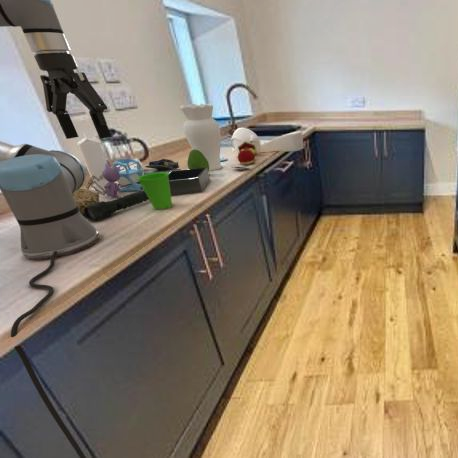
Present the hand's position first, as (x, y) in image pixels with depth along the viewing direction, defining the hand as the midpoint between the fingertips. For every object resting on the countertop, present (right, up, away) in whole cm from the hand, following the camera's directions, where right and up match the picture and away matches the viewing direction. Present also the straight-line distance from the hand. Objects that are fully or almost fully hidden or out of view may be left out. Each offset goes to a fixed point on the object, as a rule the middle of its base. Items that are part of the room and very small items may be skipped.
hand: (89, 138), depth 98 cm
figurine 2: (+8, +16, +84) cm, 86 cm away
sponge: (-20, -19, +21) cm, 35 cm away
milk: (-31, -10, +43) cm, 54 cm away
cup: (+6, -18, +22) cm, 29 cm away
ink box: (-24, -5, +46) cm, 52 cm away
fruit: (-1, -3, +57) cm, 57 cm away
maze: (-23, -10, +31) cm, 40 cm away
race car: (-20, +2, +61) cm, 64 cm away
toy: (-8, +13, +90) cm, 92 cm away
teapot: (+7, +25, +94) cm, 97 cm away
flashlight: (-6, -19, +20) cm, 28 cm away
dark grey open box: (+3, -9, +42) cm, 43 cm away
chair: (-19, -10, +42) cm, 47 cm away
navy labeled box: (-21, +1, +63) cm, 66 cm away
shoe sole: (+13, +18, +105) cm, 108 cm away
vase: (-3, +3, +70) cm, 70 cm away
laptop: (+13, +2, +65) cm, 67 cm away
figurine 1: (-19, -14, +32) cm, 40 cm away
